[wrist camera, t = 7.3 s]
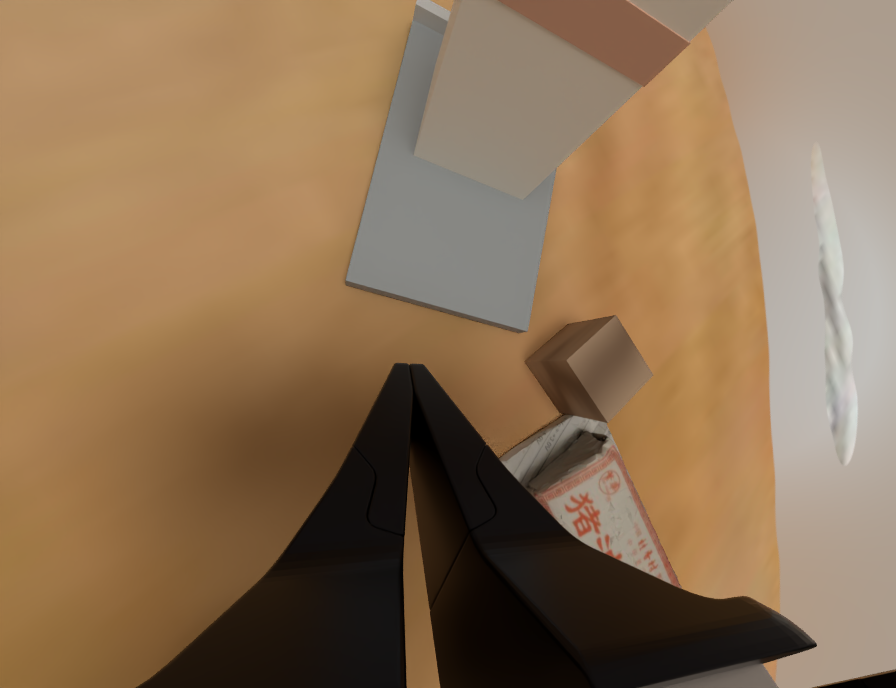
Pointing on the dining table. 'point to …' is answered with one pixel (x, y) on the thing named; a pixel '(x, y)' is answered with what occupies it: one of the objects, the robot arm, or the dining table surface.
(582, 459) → the packaged product
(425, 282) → the podium
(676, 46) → the carton
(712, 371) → the dining table surface
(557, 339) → the walnut block
